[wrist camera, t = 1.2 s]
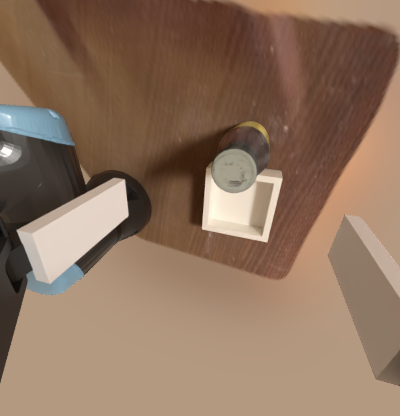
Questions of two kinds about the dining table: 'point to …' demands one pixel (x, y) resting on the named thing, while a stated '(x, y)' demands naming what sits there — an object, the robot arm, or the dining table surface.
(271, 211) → the square white tray
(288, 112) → the dining table surface
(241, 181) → the sauce bottle
